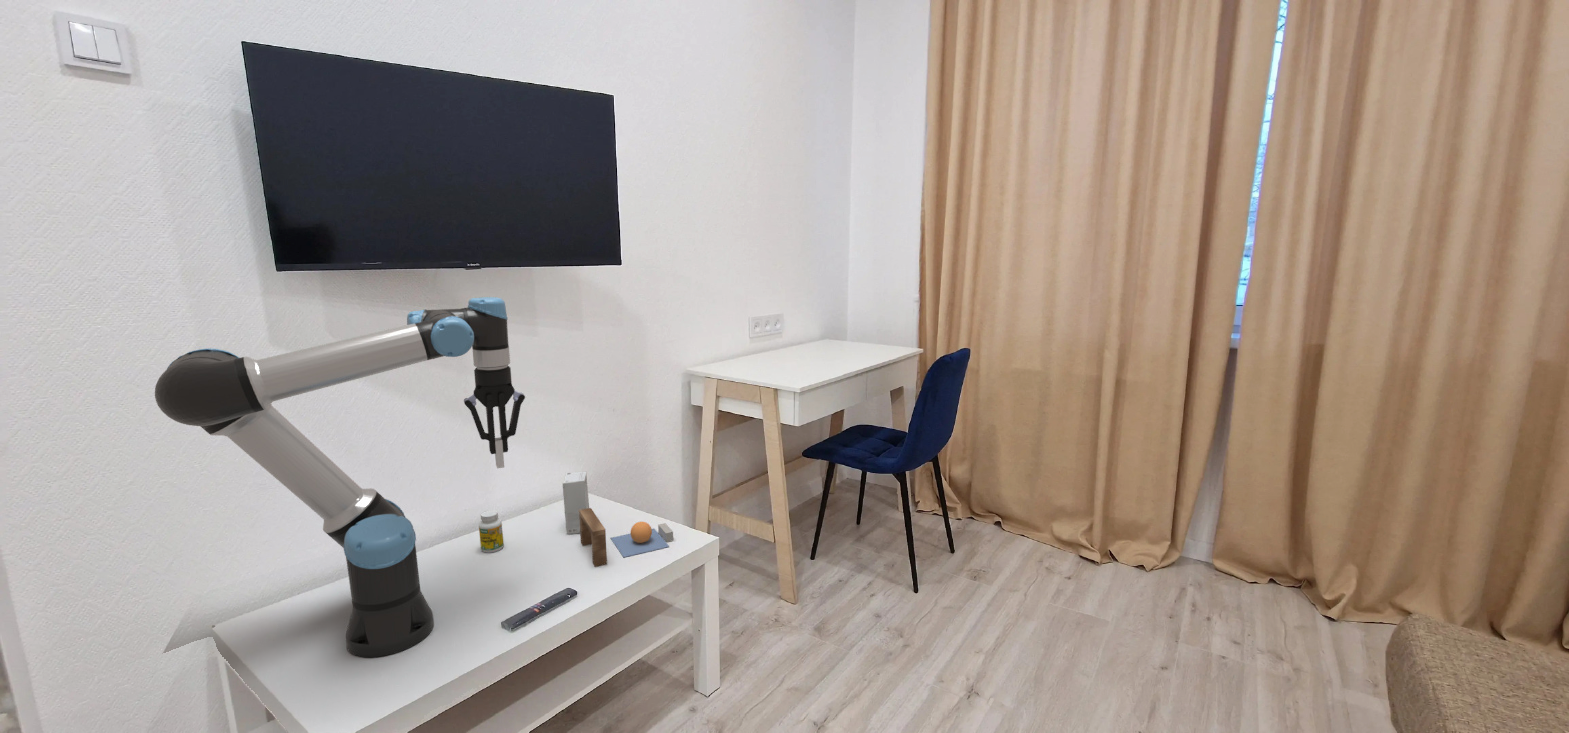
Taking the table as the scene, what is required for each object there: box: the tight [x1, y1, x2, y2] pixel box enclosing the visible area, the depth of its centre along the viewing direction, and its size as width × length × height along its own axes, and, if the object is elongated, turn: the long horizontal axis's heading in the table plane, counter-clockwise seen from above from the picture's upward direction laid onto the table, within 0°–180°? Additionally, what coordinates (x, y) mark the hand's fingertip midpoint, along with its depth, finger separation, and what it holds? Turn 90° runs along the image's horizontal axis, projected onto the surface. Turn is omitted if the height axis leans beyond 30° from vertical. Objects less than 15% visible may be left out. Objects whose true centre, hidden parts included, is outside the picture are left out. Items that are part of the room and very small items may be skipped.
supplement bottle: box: [478, 509, 504, 554], centre depth 168 cm, size 5×5×10 cm
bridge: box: [579, 507, 608, 568], centre depth 166 cm, size 3×14×9 cm, turn 30°
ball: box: [630, 521, 653, 543], centre depth 172 cm, size 6×6×6 cm
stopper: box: [657, 522, 674, 543], centre depth 176 cm, size 2×6×2 cm, turn 30°
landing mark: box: [610, 527, 670, 559], centre depth 172 cm, size 12×12×1 cm
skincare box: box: [562, 471, 590, 535], centre depth 180 cm, size 8×6×15 cm
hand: (500, 466), depth 152 cm, fingers closed
